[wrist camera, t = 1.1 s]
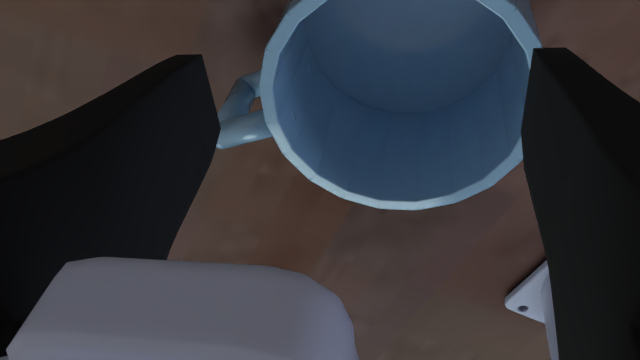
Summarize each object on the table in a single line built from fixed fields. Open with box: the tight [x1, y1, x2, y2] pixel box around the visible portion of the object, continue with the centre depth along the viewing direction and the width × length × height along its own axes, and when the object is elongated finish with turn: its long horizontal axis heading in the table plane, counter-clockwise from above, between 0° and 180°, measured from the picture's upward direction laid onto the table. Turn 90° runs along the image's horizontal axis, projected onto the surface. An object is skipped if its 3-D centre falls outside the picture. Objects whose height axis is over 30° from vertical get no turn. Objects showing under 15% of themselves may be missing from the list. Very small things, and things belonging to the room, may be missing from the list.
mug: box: [216, 0, 543, 210], centre depth 20 cm, size 11×8×6 cm
